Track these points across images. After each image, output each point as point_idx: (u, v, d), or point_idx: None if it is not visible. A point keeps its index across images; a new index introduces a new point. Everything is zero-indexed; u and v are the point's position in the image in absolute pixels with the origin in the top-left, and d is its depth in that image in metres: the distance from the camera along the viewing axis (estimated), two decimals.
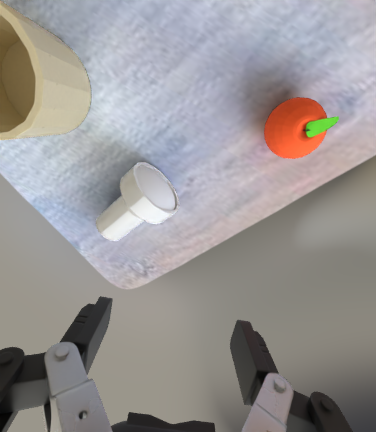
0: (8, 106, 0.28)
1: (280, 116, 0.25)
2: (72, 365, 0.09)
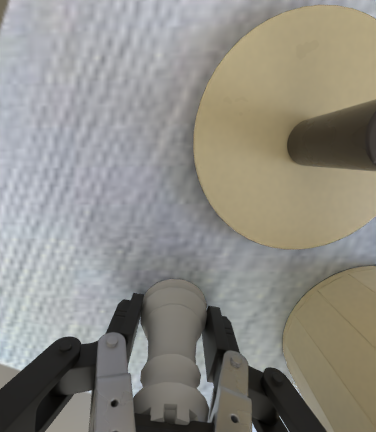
0: None
1: None
2: (123, 353, 0.10)
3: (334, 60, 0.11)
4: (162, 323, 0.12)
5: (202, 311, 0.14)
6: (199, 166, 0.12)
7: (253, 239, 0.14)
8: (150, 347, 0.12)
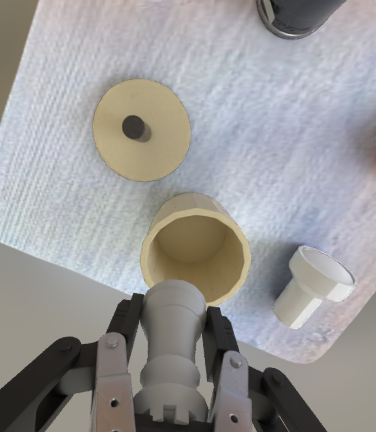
0: (173, 261, 0.33)
1: None
2: (123, 353, 0.10)
3: (146, 99, 0.28)
4: (162, 324, 0.12)
5: (202, 312, 0.14)
6: (96, 143, 0.29)
7: (125, 176, 0.30)
8: (150, 348, 0.12)
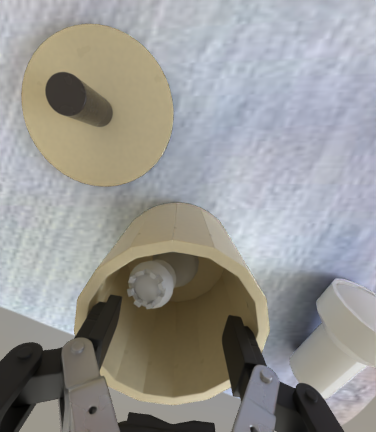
0: None
1: None
2: (88, 360, 0.09)
3: (103, 58, 0.18)
4: (161, 255, 0.19)
5: (191, 259, 0.20)
6: (29, 127, 0.19)
7: (75, 178, 0.20)
8: None
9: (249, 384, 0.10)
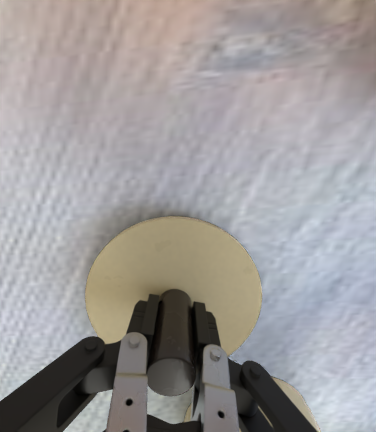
0: None
1: None
2: (146, 352, 0.10)
3: (185, 251, 0.15)
4: None
5: None
6: (92, 319, 0.16)
7: None
8: None
9: (203, 368, 0.10)
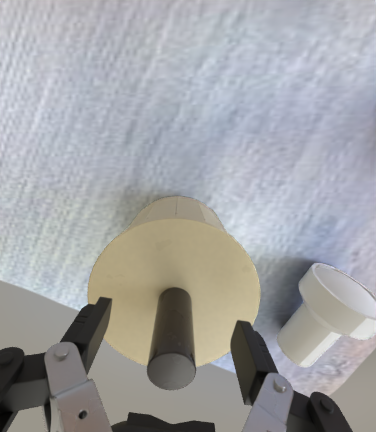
0: None
1: None
2: (72, 365, 0.09)
3: (185, 251, 0.15)
4: None
5: None
6: None
7: (142, 363, 0.18)
8: None
9: (261, 391, 0.10)
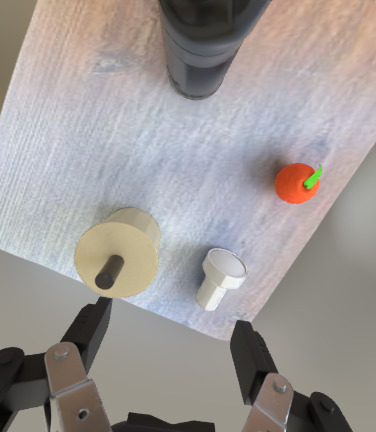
0: None
1: (283, 185, 0.37)
2: (72, 365, 0.09)
3: (119, 237, 0.33)
4: None
5: None
6: (77, 269, 0.34)
7: (102, 294, 0.35)
8: None
9: (261, 391, 0.10)
